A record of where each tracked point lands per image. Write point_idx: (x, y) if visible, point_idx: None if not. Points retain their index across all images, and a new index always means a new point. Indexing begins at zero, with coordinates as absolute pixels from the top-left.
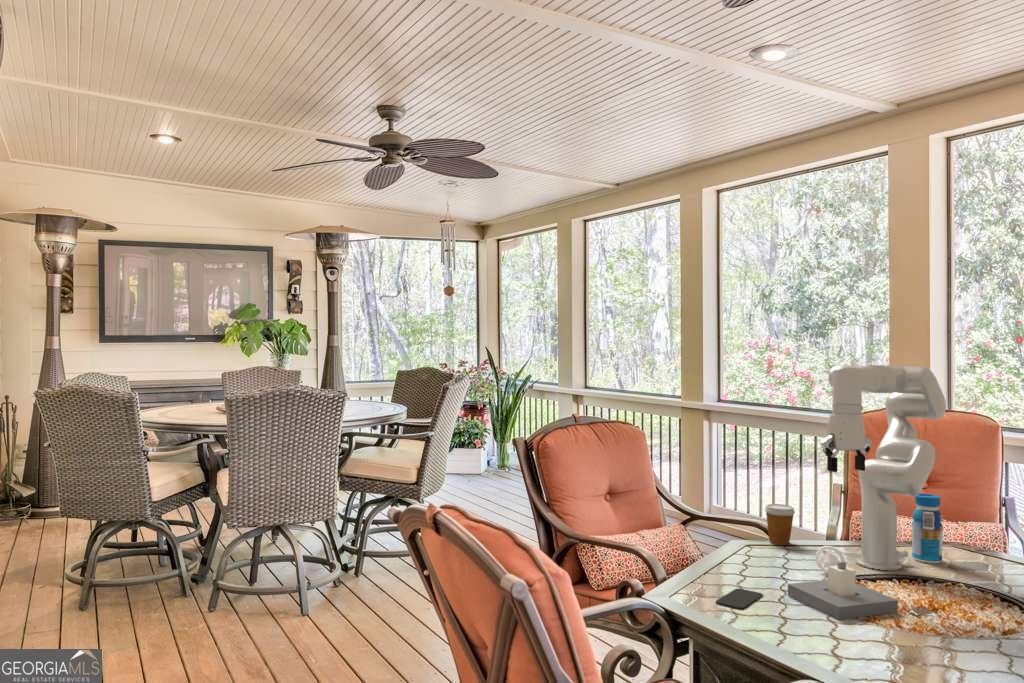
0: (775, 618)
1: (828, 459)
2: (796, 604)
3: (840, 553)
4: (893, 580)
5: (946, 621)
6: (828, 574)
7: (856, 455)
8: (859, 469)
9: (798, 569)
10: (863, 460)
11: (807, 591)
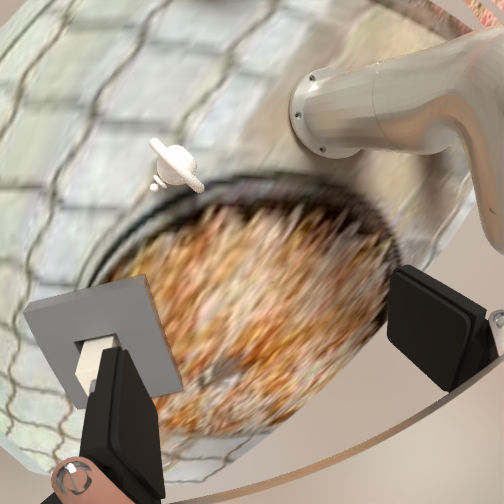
0: (4, 382)
1: (87, 455)
2: (35, 341)
3: (194, 189)
4: (290, 218)
5: (231, 400)
6: (78, 364)
7: (475, 326)
8: (390, 313)
9: (118, 125)
10: (435, 377)
11: (46, 351)
